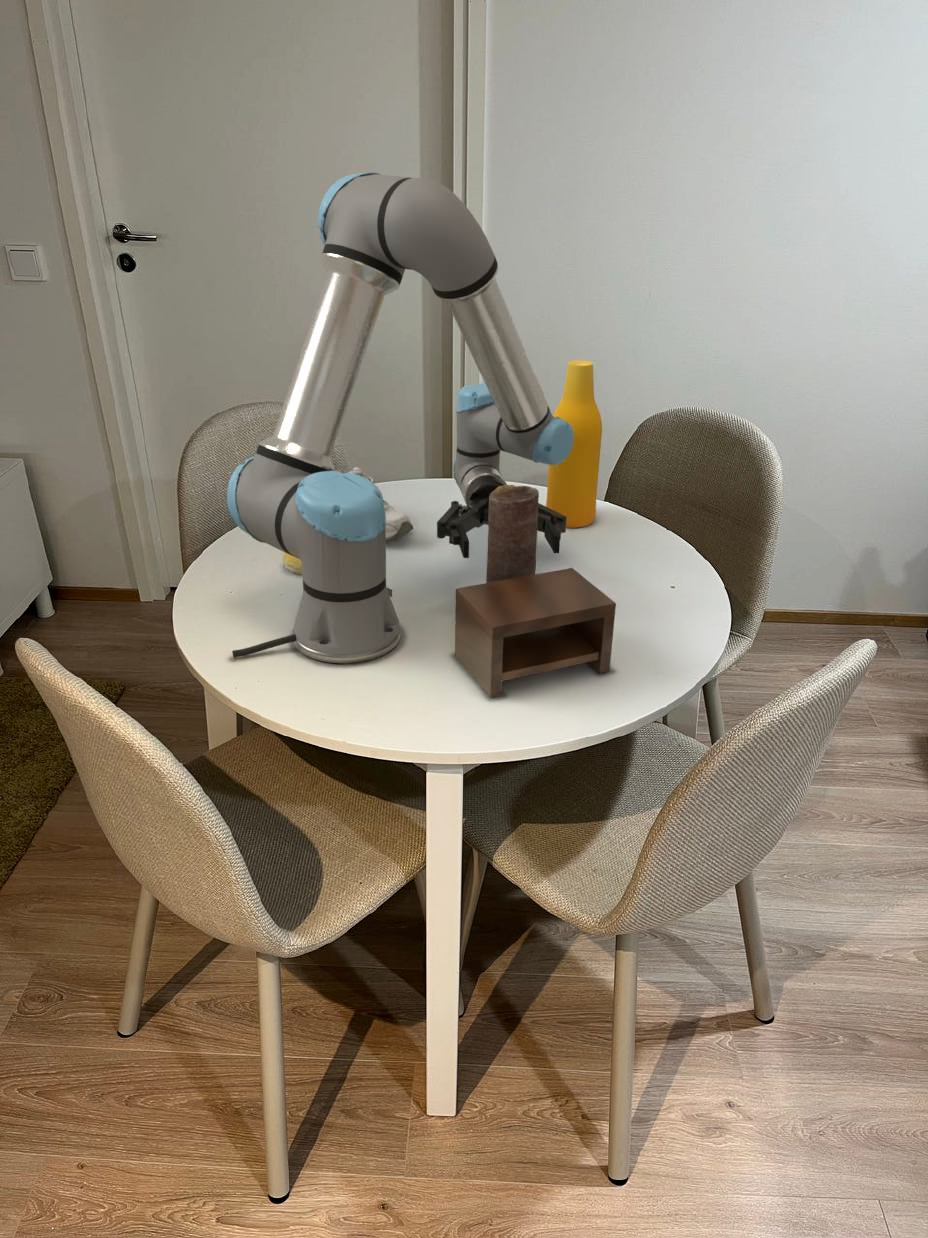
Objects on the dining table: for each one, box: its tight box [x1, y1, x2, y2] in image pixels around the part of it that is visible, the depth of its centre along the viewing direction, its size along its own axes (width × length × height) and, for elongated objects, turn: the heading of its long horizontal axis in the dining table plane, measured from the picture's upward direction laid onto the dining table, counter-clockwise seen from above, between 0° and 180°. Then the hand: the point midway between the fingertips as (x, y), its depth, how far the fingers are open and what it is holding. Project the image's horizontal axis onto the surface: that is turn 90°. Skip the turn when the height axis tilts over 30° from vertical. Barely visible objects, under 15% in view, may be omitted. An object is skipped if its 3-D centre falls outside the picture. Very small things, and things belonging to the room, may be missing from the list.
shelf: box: [454, 567, 617, 699], centre depth 133 cm, size 18×12×10 cm, turn 113°
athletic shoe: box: [336, 466, 414, 542], centre depth 176 cm, size 10×23×12 cm, turn 52°
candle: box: [485, 484, 540, 583], centre depth 144 cm, size 8×7×20 cm
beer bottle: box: [545, 359, 603, 529], centre depth 176 cm, size 9×9×29 cm
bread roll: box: [282, 552, 302, 575], centre depth 162 cm, size 8×9×4 cm
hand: (512, 547), depth 144 cm, fingers open, 13 cm apart
